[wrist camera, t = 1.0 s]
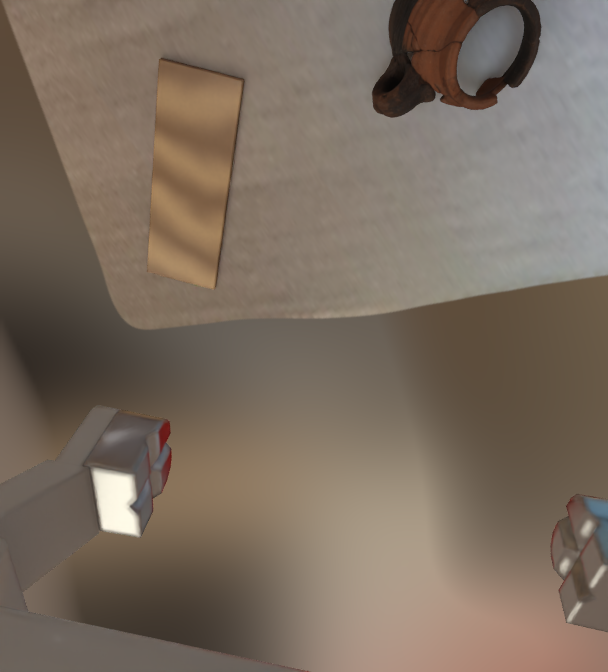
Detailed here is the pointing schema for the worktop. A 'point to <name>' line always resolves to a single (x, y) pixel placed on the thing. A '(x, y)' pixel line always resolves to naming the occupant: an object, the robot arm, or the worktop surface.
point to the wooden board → (191, 170)
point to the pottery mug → (445, 54)
